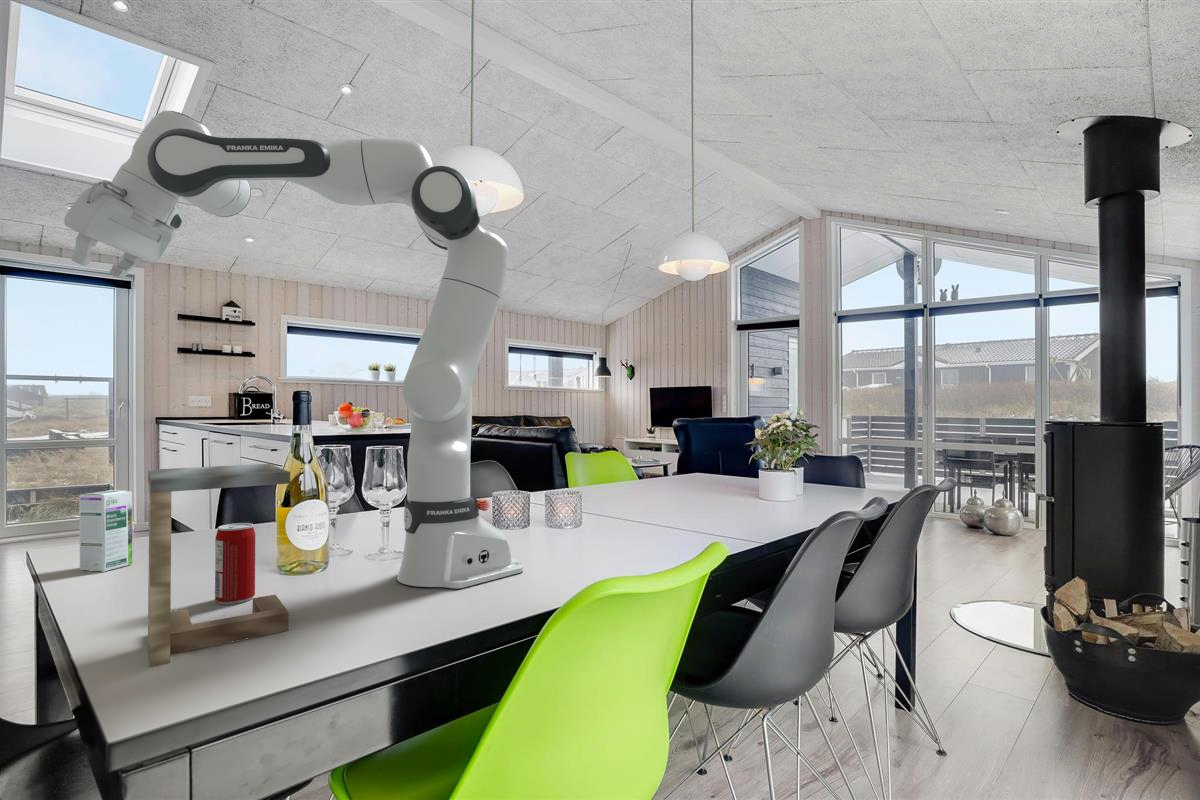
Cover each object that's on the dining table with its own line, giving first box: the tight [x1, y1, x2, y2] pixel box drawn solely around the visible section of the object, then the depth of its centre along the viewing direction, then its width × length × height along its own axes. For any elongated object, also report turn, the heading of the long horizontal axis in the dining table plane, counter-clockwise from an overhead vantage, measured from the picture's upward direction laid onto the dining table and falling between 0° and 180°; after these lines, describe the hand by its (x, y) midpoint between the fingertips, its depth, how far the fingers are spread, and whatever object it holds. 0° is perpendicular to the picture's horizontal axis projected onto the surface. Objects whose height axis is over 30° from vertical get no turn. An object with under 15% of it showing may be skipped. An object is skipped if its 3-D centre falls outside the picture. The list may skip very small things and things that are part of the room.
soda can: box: [214, 522, 256, 605], centre depth 98 cm, size 6×6×12 cm
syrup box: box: [78, 489, 133, 573], centre depth 117 cm, size 6×6×14 cm
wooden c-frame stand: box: [147, 463, 291, 668], centre depth 83 cm, size 15×15×22 cm
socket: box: [170, 594, 290, 655], centre depth 84 cm, size 14×10×2 cm
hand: (98, 270), depth 104 cm, fingers open, 8 cm apart
